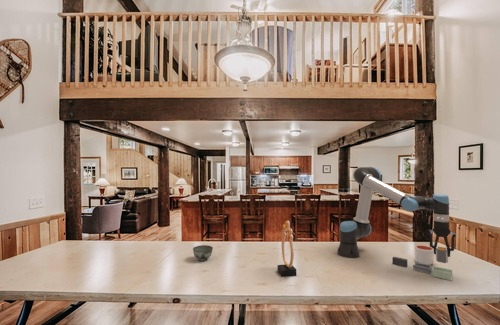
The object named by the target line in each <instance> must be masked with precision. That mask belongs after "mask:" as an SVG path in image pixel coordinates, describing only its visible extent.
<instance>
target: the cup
mask: <svg viewBox="0 0 500 325" xmlns="http://www.w3.org/2000/svg"><path fill="white" fill-rule="evenodd" d="M414 251H415V260H414V261H415V262H417V263H422V264H426V265H431V266H433V264H434V249H433V248H432V247H430V246H426V245H416V246H415V250H414Z"/></svg>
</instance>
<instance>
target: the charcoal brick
mask: <svg viewBox="0 0 500 325" xmlns="http://www.w3.org/2000/svg"><path fill="white" fill-rule="evenodd" d="M391 263H392V264H391V265H394V266H398V267H402V268H407V267H408V259H407V258H403V257H398V256H393V257H392V262H391Z"/></svg>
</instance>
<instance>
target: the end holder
mask: <svg viewBox="0 0 500 325" xmlns="http://www.w3.org/2000/svg"><path fill="white" fill-rule="evenodd" d="M432 266H433V269H432V273H431V277H433V278H438V279H442V280H446V281H449V282H450V281H452V279H453V269H451V268H446V267H440V266H436V265H432Z"/></svg>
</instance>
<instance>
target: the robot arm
mask: <svg viewBox="0 0 500 325" xmlns="http://www.w3.org/2000/svg"><path fill="white" fill-rule="evenodd" d="M352 175H353V179H354V181H355V182H356V183H357V184H359V185H360V190H359V197H358V201H357V202H358V203H357V208H356V214H355V217H353V219H352V220H345V221H342V222H340V225H339V245H338V248H337V254H338V255H339V256H341V257H343V258H344V257H345V258H350V259H354V258H355V259H356V258H359V257H360V256H361V255H360V249H359V247H358V239H361V238H366V237H368V236H369V235H370V234H371V233H372V226H371V224H370V223H371V222H370V220H369V216H370V209H371V205H372V198H373V193H374V191H375V192H377V193H378V194H380V195H382V196H384V197H386V198H387V199H389V200H391V201H393V202H395V203H396V204H398V205H400V206H401V207H402V209H403V210H404V211H406V212H415V211H419V210H431V211H433V212H432V214H433V215H432V216H433V228H432V229H428V230H427V233H428V237H429V238H428V239H429V247H431V248H433V255H435V261H437V248H438V247H437V246H438V242H439V238H443V240H444V243H445V248H446V263H445V264H448V262H449V258H450V257H451V252H455V251H454V250H455V240H456V238H455V237H456V235H457V234H456V233H455V232H451V229H450V198H449V195H447V194H437V193H435V194H433V195H432V196H430V197H429V196H422V195H420V196H419V195H413V196H411V195H408V194H407V193H405V192H403V191H401V190H400V189H398V188H395V187H393V186H392V185H390V184H388V183H386V182H383V181H381V179H382V175H381V171H379V169H378V168H376V167H372V166H368V167H367V166H366V167H365V166H364V167H358V168H355V170H354V171H353V174H352ZM433 233H434V235H435V241H434V240H433ZM449 235H450V237H451V240H450V242H451V247H450V243H449V240H448V236H449ZM433 243H434V244H433Z"/></svg>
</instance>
